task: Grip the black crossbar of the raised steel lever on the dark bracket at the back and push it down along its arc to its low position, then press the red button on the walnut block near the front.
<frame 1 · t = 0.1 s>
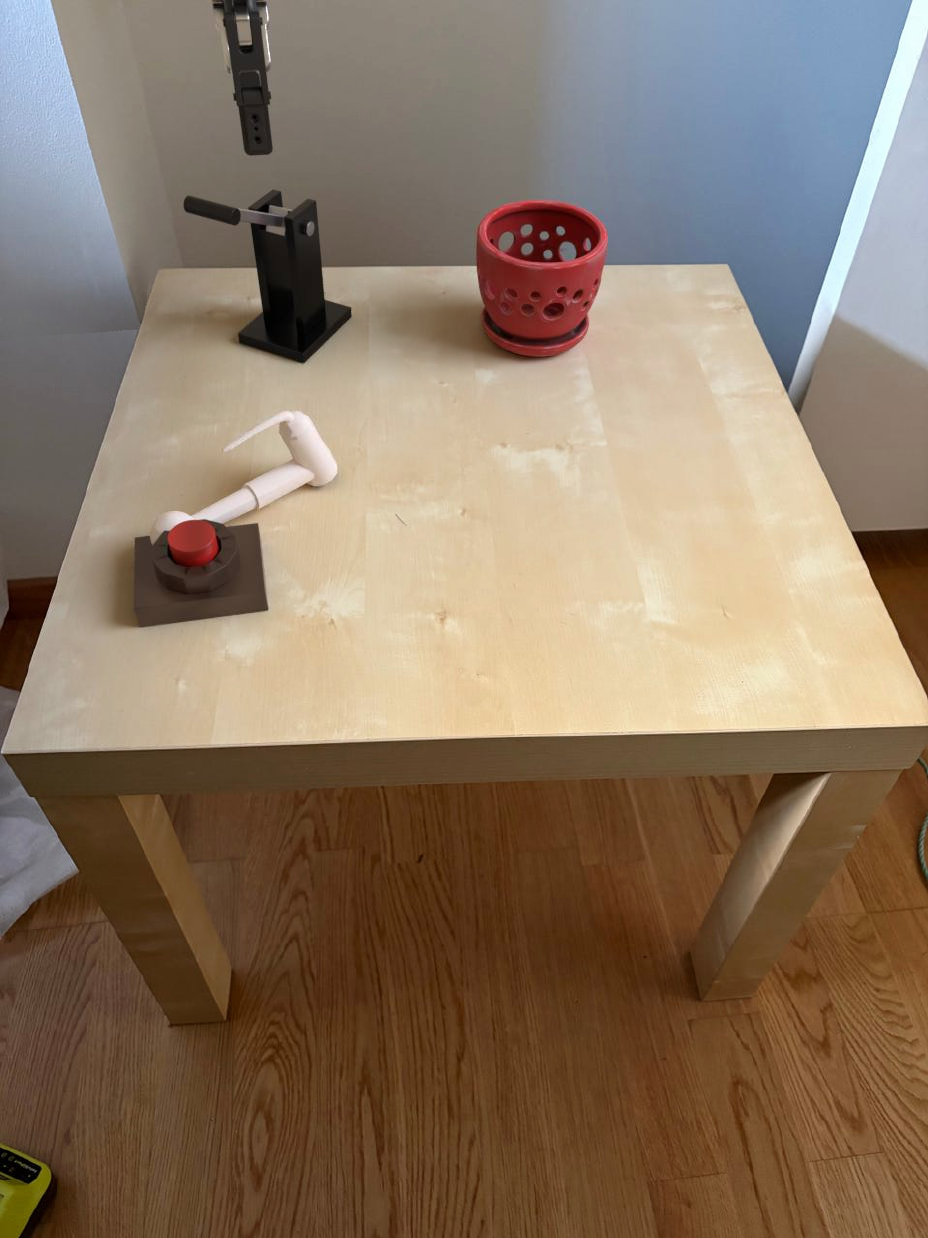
hand: (255, 130, 78), 25 cm above the table, tool pointing down, fingers open, 8 cm apart
flower pot: (532, 336, 104), on the table
faucet: (251, 516, 84), on the table, touching button block
button block: (203, 582, 79), on the table
button: (193, 543, 75), point 4 cm above the table, slide at 0.1 cm
bracket: (296, 329, 103), on the table
lever: (252, 216, 89), point 15 cm above the table, hinge at 28.0°
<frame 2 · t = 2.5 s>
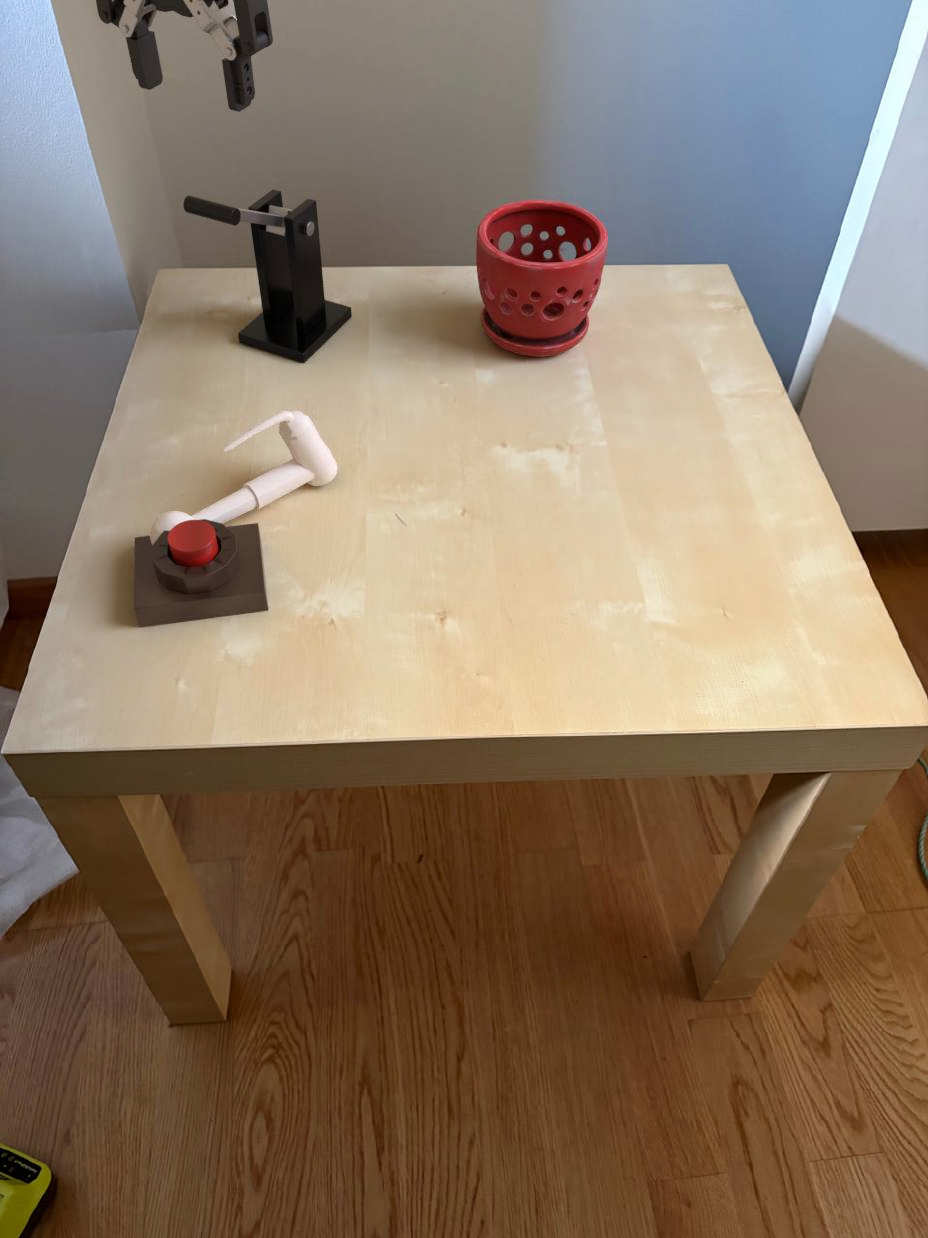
hand: (196, 96, 77), 27 cm above the table, tool pointing down, fingers open, 8 cm apart
nothing on the table moved.
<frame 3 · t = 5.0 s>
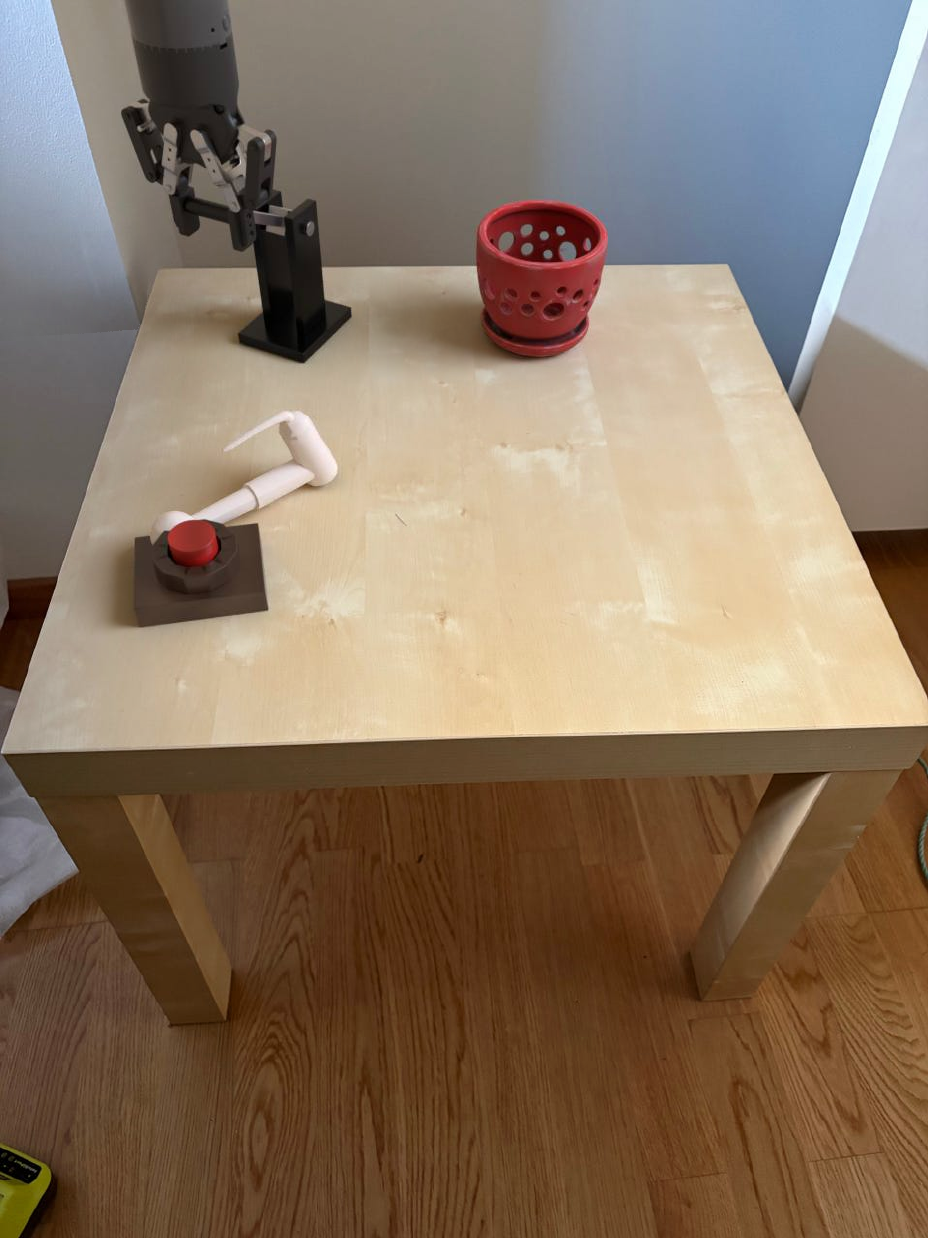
hand: (217, 238, 86), 15 cm above the table, tool pointing down, fingers closed on lever, 5 cm apart
lever: (252, 216, 89), point 15 cm above the table, hinge at 28.0°, touching gripper
everything else where it was.
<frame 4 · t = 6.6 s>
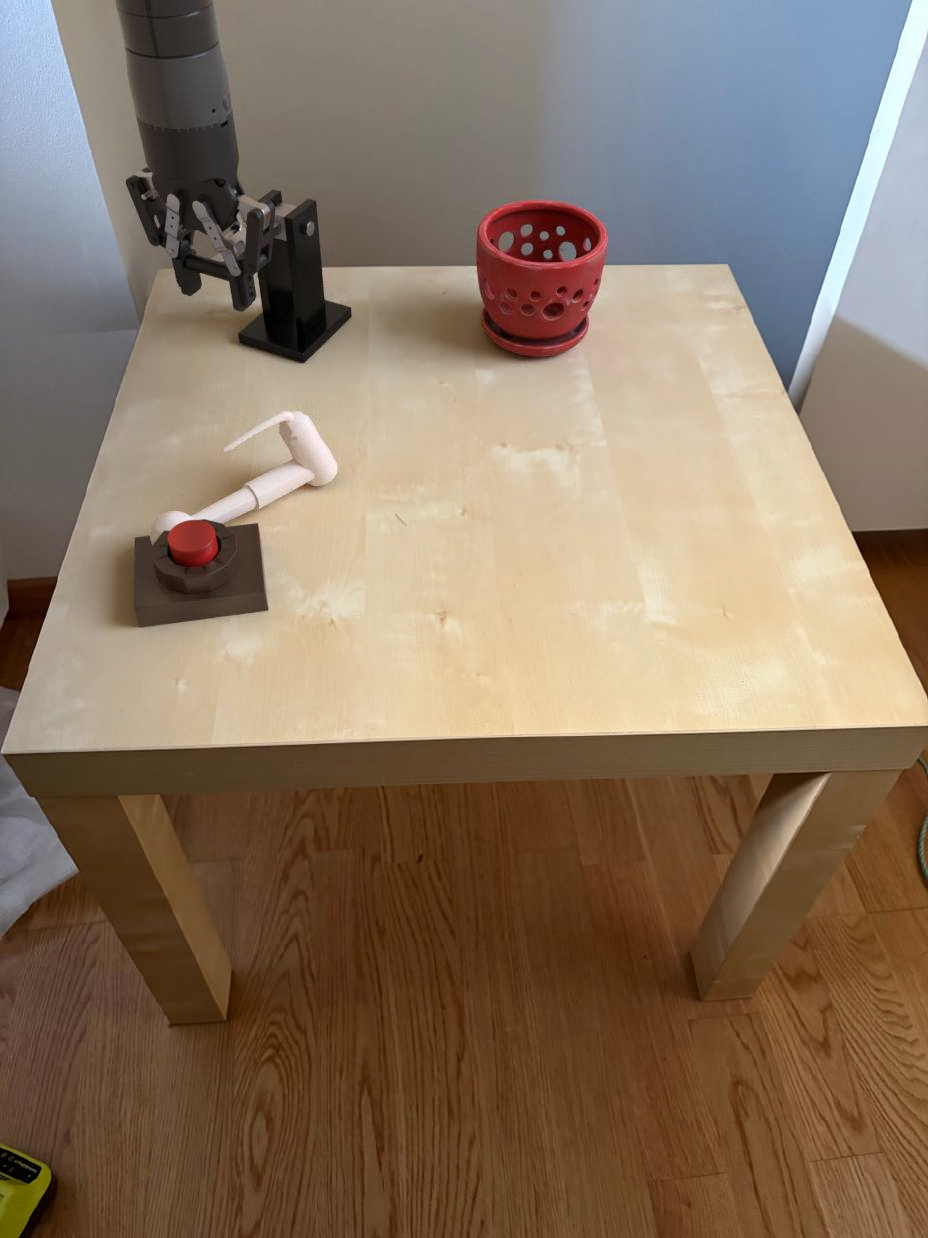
hand: (218, 298, 89), 10 cm above the table, tool pointing down, fingers closed on lever, 5 cm apart
lever: (251, 242, 91), point 12 cm above the table, hinge at 4.4°, touching gripper
everything else where it was.
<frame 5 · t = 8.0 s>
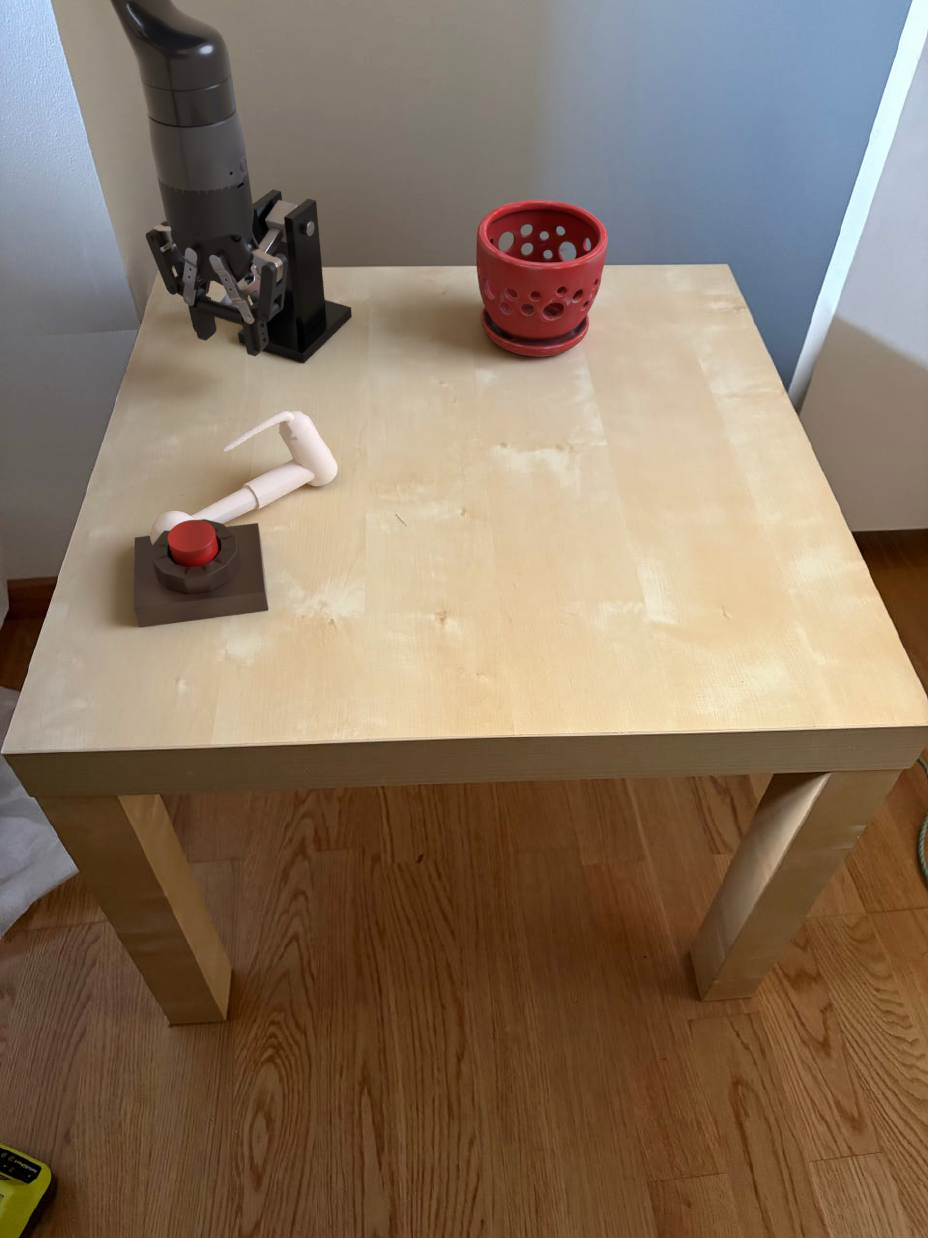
hand: (232, 342, 93), 5 cm above the table, tool pointing down, fingers closed on lever, 5 cm apart
lever: (256, 263, 92), point 10 cm above the table, hinge at -18.2°, touching gripper
everything else where it was.
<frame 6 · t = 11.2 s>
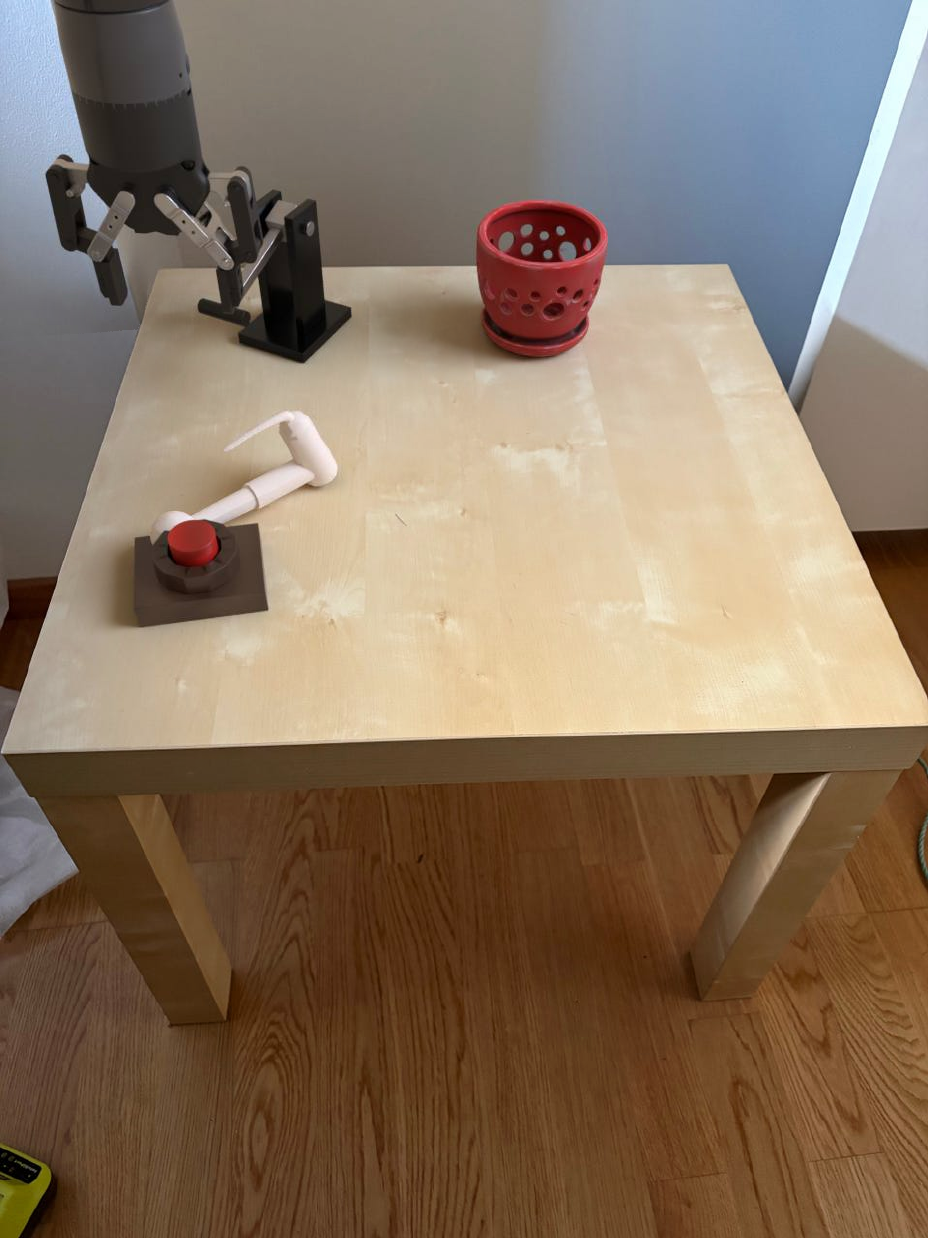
hand: (175, 304, 74), 17 cm above the table, tool pointing down, fingers open, 8 cm apart
lever: (256, 263, 93), point 10 cm above the table, hinge at -18.7°
everything else where it was.
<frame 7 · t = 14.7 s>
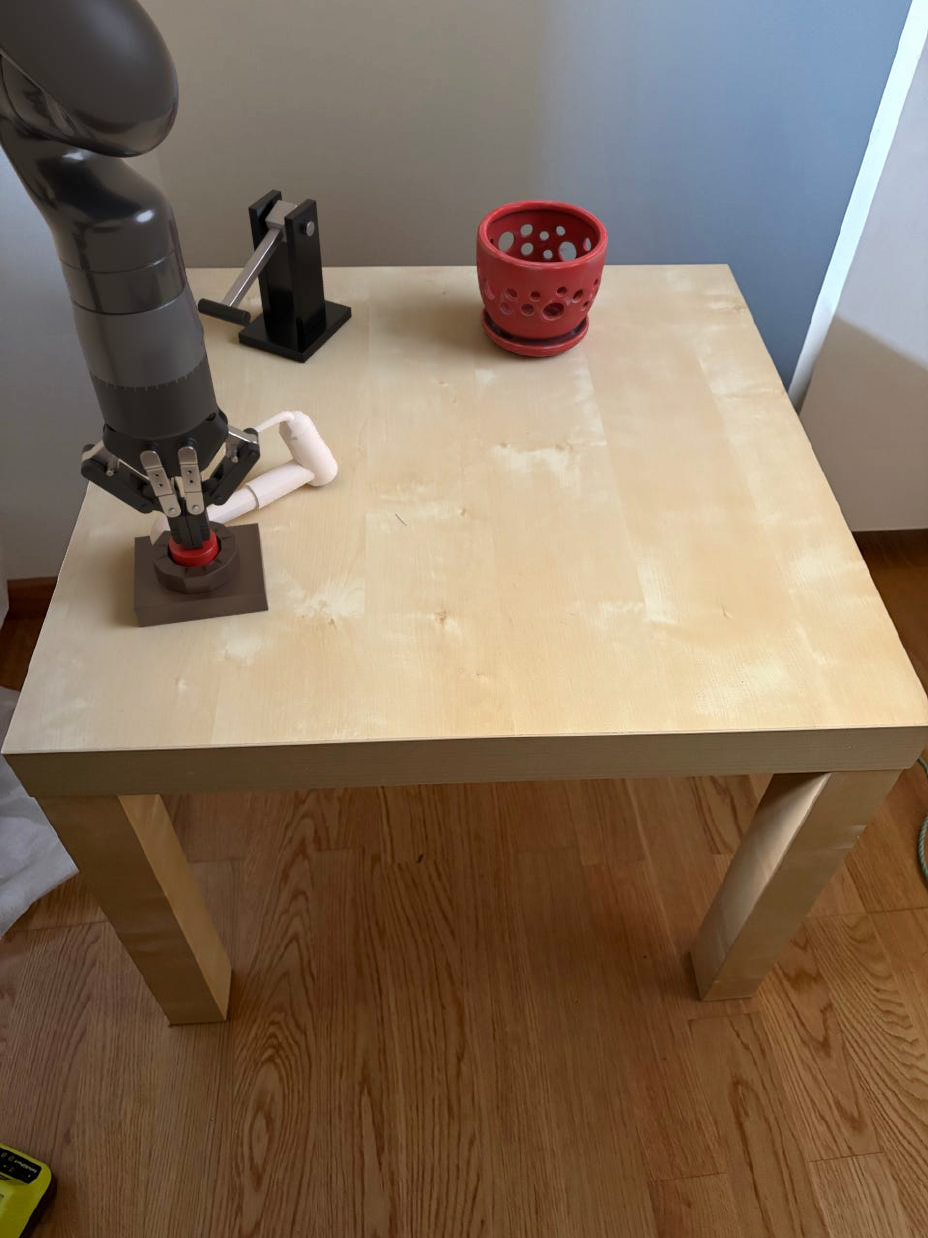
hand: (194, 541, 75), 5 cm above the table, tool pointing down, fingers closed
button: (194, 548, 76), point 4 cm above the table, slide at -0.5 cm, touching gripper
everything else where it was.
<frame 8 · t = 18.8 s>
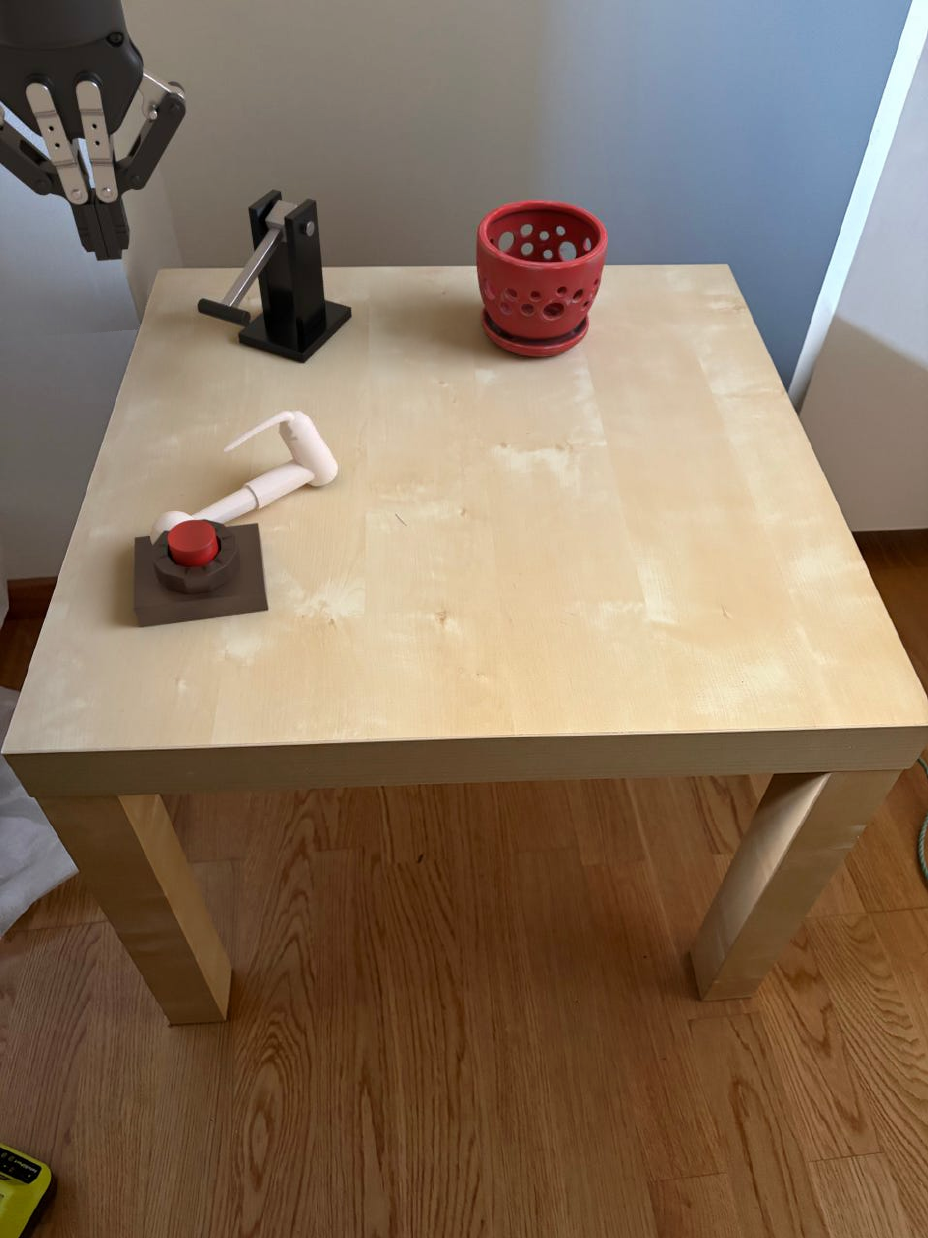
hand: (110, 253, 60), 27 cm above the table, tool pointing down, fingers closed
button: (193, 543, 75), point 4 cm above the table, slide at 0.1 cm
everything else where it was.
at the end: lever at -19° (first picture: +28°); button pushed in 1.1 cm at the most during the clip, back to where it started at the end; button slide at 0.1 cm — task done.
